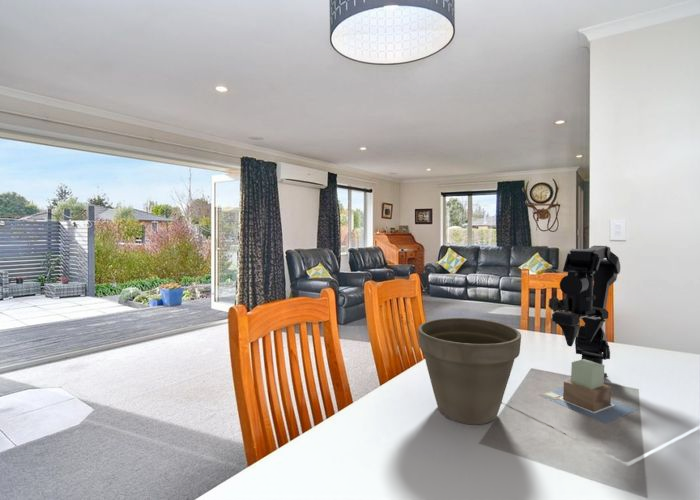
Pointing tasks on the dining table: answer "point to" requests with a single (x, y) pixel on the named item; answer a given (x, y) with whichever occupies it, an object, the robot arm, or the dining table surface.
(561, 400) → the board
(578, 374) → the sage cube
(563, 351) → the dining table surface
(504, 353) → the plant pot
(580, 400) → the walnut base block
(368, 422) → the dining table surface
